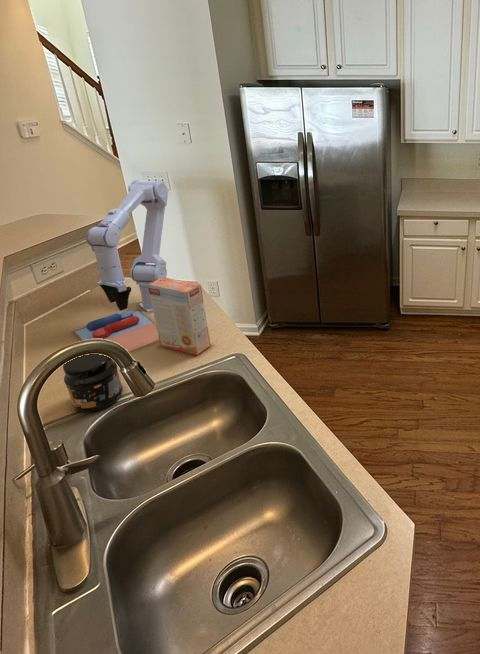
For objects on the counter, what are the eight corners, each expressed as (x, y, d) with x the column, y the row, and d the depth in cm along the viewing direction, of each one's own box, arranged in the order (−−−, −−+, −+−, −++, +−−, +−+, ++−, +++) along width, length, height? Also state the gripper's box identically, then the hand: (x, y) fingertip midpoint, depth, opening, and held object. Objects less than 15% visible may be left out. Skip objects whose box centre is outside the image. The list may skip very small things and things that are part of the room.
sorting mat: (137, 311, 148) (137, 310, 148) (169, 336, 134) (168, 335, 134) (75, 332, 135) (74, 331, 135) (103, 363, 121) (102, 361, 121)
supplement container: (61, 410, 104) (48, 368, 99) (100, 382, 113) (88, 344, 109) (98, 418, 101) (85, 376, 97) (133, 389, 111) (123, 350, 107)
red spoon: (136, 319, 142) (135, 312, 141) (142, 324, 139) (141, 317, 138) (91, 336, 133) (89, 328, 132) (96, 341, 130) (94, 333, 129)
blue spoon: (90, 334, 134) (88, 326, 132) (85, 328, 136) (83, 321, 135) (135, 318, 143) (134, 310, 142) (130, 313, 146) (128, 306, 145)
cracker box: (212, 345, 130) (201, 283, 122) (197, 356, 125) (185, 292, 117) (175, 336, 134) (163, 275, 127) (159, 346, 129) (146, 283, 121)
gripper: (85, 262, 131) (95, 302, 136) (103, 275, 123) (113, 317, 127) (112, 256, 136) (120, 295, 141) (130, 268, 128) (138, 309, 132)
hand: (118, 305), depth 134 cm, fingers open, 7 cm apart
